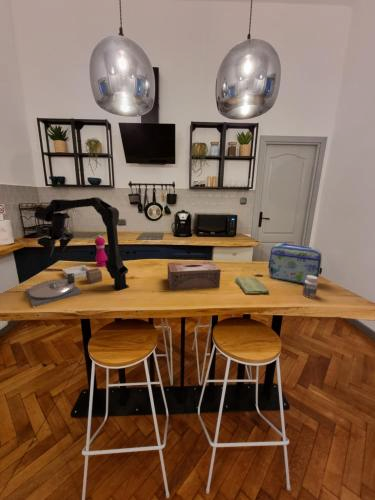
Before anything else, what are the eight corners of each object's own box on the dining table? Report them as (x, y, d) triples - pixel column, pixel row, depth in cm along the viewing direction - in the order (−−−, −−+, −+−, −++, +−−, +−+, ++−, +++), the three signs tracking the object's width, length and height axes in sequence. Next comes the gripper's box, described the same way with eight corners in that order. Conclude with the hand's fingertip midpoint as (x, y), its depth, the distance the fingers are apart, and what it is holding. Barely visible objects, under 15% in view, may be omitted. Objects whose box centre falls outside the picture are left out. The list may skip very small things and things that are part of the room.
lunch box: (265, 277, 126) (270, 243, 120) (269, 272, 134) (274, 240, 129) (316, 288, 112) (323, 250, 106) (317, 282, 121) (324, 246, 115)
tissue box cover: (170, 290, 106) (170, 271, 104) (167, 279, 120) (167, 262, 117) (219, 287, 111) (220, 269, 108) (211, 277, 125) (212, 260, 122)
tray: (92, 275, 122) (91, 270, 121) (69, 280, 114) (68, 275, 113) (84, 269, 130) (84, 264, 129) (63, 274, 122) (62, 269, 121)
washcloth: (245, 295, 103) (245, 289, 102) (233, 281, 120) (234, 276, 119) (270, 295, 104) (271, 289, 104) (255, 280, 121) (256, 275, 121)
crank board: (81, 293, 100) (81, 290, 100) (33, 307, 87) (32, 304, 87) (69, 281, 113) (69, 278, 113) (25, 291, 100) (25, 288, 100)
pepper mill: (103, 267, 134) (101, 236, 129) (93, 266, 136) (90, 236, 130) (109, 264, 141) (107, 234, 136) (100, 263, 142) (97, 233, 137)
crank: (33, 303, 88) (31, 290, 86) (26, 288, 100) (24, 277, 99) (81, 290, 100) (79, 279, 98) (69, 279, 112) (68, 268, 111)
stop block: (102, 281, 114) (101, 270, 113) (90, 284, 110) (89, 273, 109) (97, 278, 118) (97, 267, 117) (86, 280, 114) (85, 270, 113)
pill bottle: (303, 291, 108) (307, 273, 105) (316, 295, 104) (320, 276, 102) (301, 295, 104) (304, 277, 101) (314, 299, 100) (318, 280, 98)
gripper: (54, 218, 112) (52, 245, 117) (26, 223, 94) (25, 255, 99) (75, 223, 112) (72, 250, 117) (51, 230, 94) (48, 261, 99)
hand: (55, 254), depth 108 cm, fingers open, 9 cm apart
